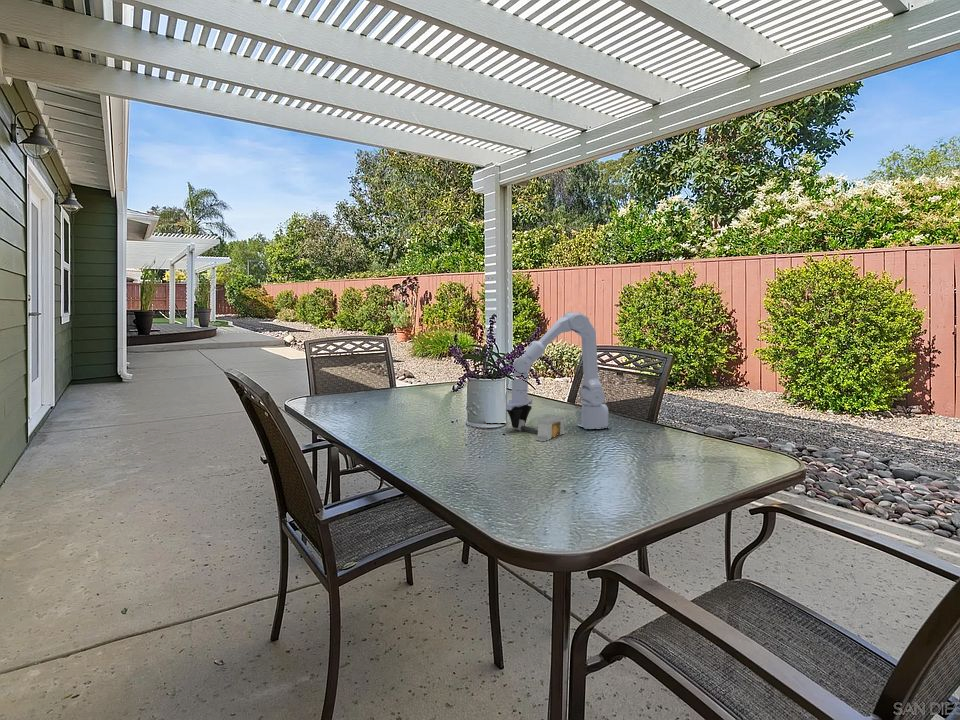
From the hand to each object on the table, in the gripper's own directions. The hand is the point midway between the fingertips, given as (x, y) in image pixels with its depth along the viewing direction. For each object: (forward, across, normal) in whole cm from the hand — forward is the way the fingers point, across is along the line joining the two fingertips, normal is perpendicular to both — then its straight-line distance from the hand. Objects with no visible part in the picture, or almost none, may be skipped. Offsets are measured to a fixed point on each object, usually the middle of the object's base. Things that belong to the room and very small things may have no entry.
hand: (518, 426), depth 200 cm
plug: (+1, 0, +7) cm, 7 cm away
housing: (+1, 0, +14) cm, 14 cm away
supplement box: (+2, -4, -13) cm, 14 cm away
